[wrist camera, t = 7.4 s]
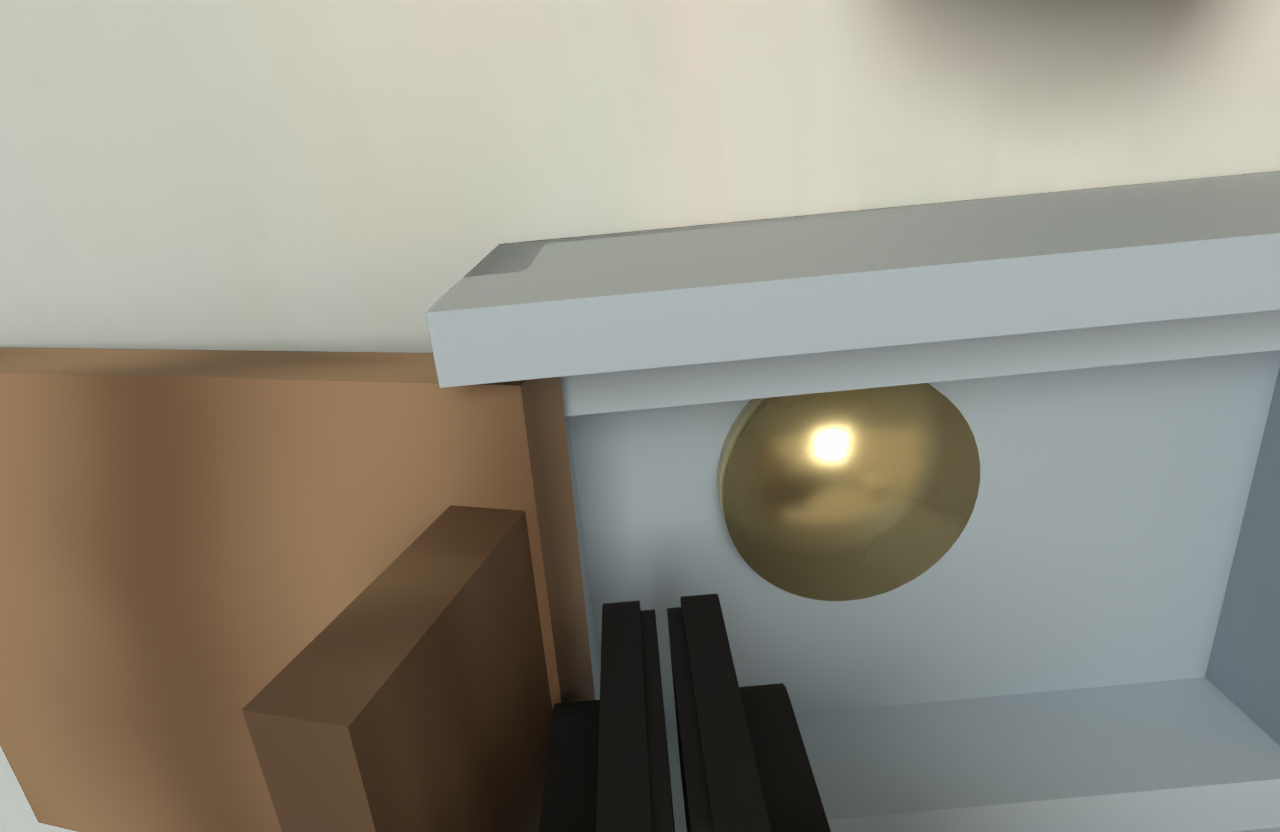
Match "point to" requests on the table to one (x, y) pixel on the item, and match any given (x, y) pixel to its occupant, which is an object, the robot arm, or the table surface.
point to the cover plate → (283, 591)
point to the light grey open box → (1007, 498)
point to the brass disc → (848, 488)
